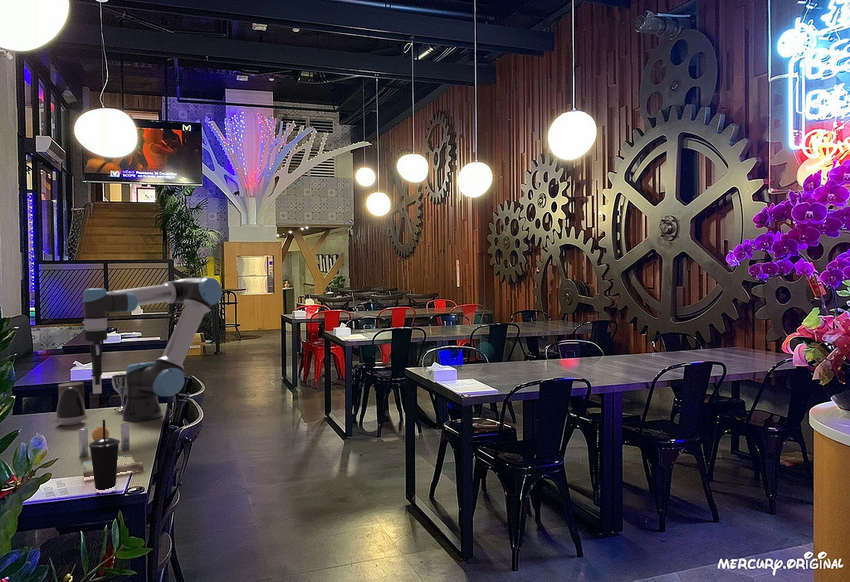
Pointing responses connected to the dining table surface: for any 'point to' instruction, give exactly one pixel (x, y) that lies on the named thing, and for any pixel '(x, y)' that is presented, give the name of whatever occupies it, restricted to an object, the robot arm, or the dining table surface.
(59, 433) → the dining table surface
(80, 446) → the post
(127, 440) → the post
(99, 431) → the ball
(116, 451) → the drinking cup
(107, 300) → the robot arm
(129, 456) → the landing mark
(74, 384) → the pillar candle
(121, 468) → the stopper wall
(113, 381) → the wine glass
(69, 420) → the black tapered dome
